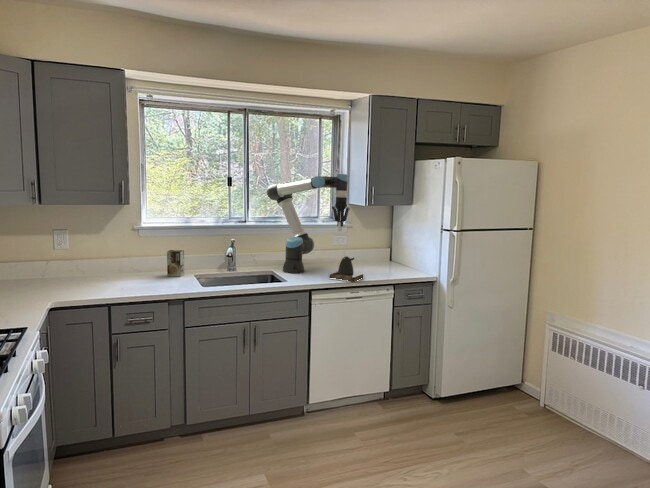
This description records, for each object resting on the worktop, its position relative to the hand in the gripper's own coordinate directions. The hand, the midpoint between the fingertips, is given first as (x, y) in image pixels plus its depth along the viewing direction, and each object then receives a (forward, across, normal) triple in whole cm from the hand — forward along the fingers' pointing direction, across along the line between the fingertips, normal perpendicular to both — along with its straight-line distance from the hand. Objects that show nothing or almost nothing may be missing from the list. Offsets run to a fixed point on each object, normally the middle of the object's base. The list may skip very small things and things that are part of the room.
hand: (339, 231), depth 331 cm
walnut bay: (+29, -13, +14) cm, 35 cm away
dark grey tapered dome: (+30, -13, +15) cm, 36 cm away
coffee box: (+30, +80, +73) cm, 112 cm away
